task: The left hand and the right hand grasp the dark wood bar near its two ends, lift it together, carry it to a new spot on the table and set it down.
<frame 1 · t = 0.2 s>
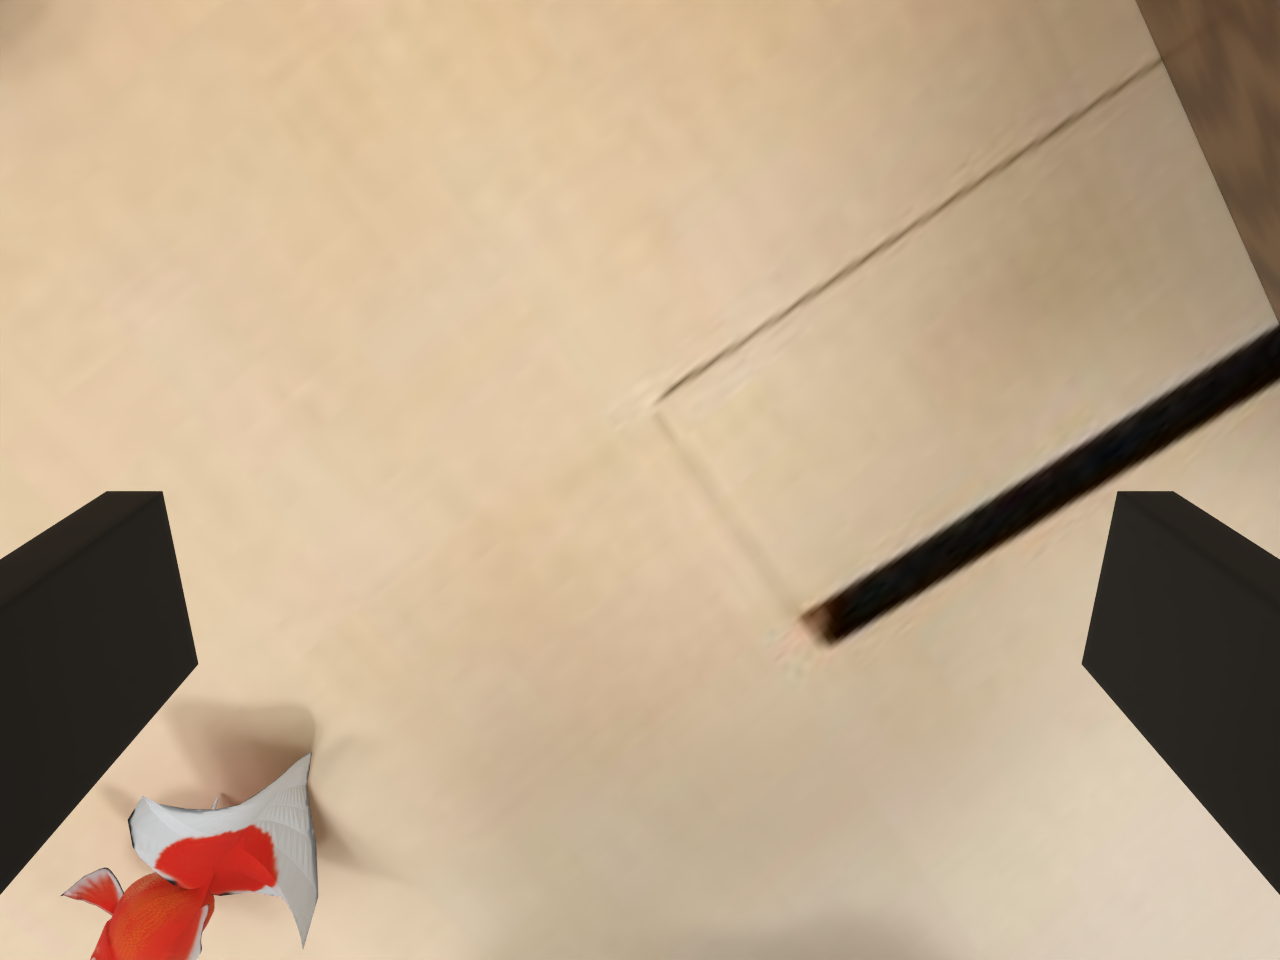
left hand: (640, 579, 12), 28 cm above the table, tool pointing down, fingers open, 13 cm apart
fish: (234, 814, 48), on the table
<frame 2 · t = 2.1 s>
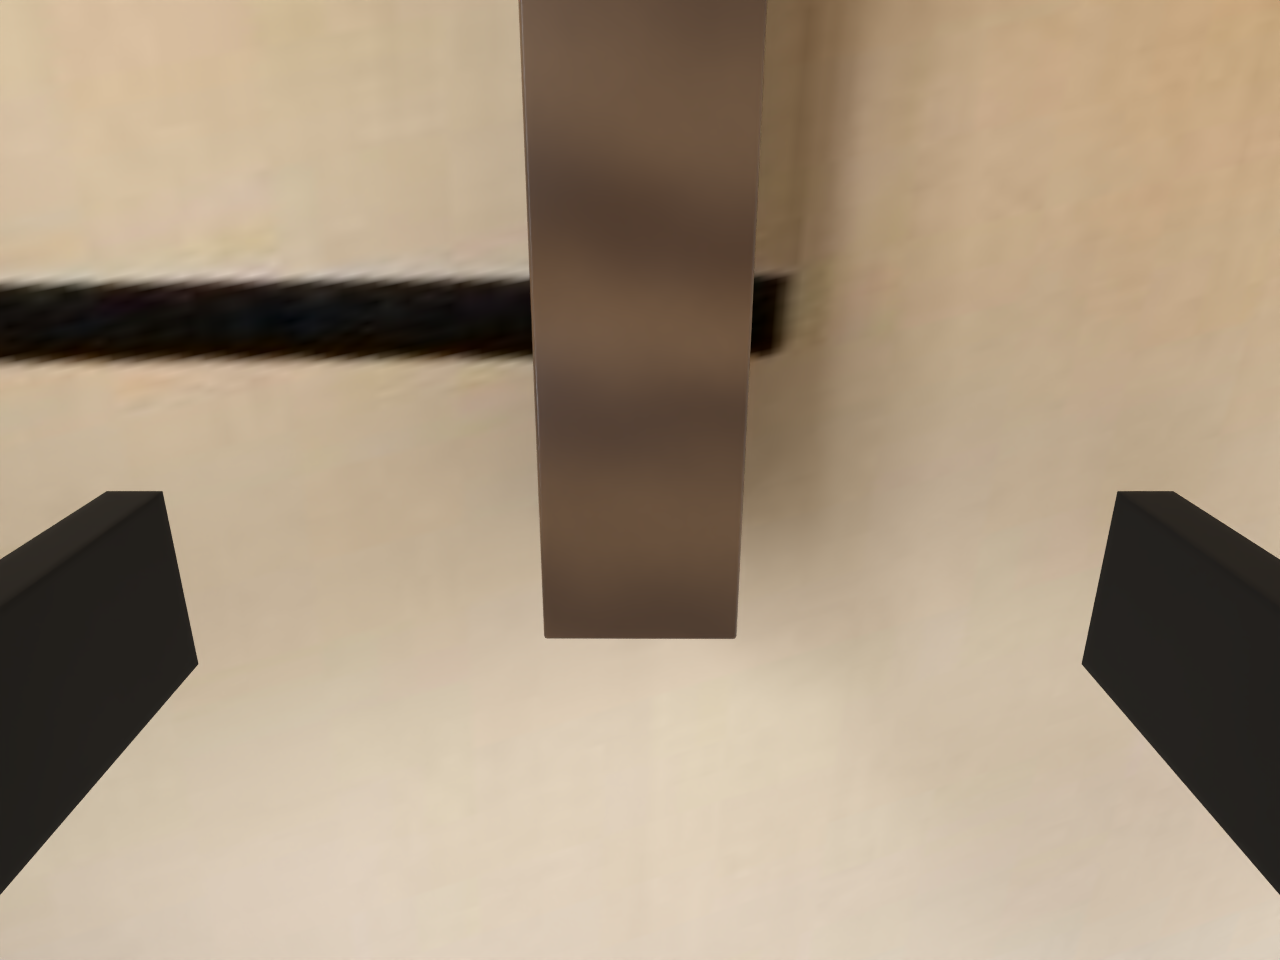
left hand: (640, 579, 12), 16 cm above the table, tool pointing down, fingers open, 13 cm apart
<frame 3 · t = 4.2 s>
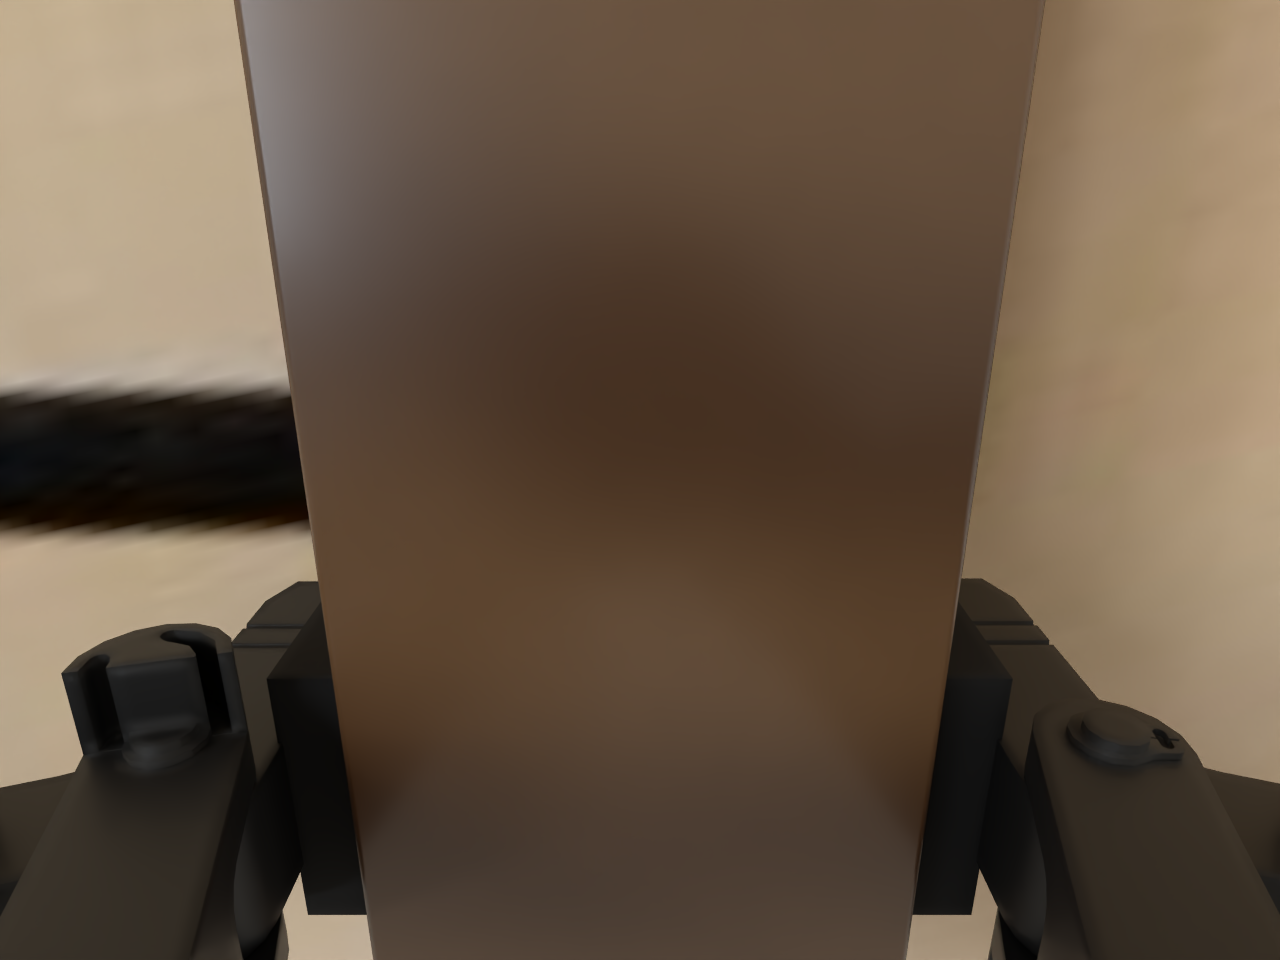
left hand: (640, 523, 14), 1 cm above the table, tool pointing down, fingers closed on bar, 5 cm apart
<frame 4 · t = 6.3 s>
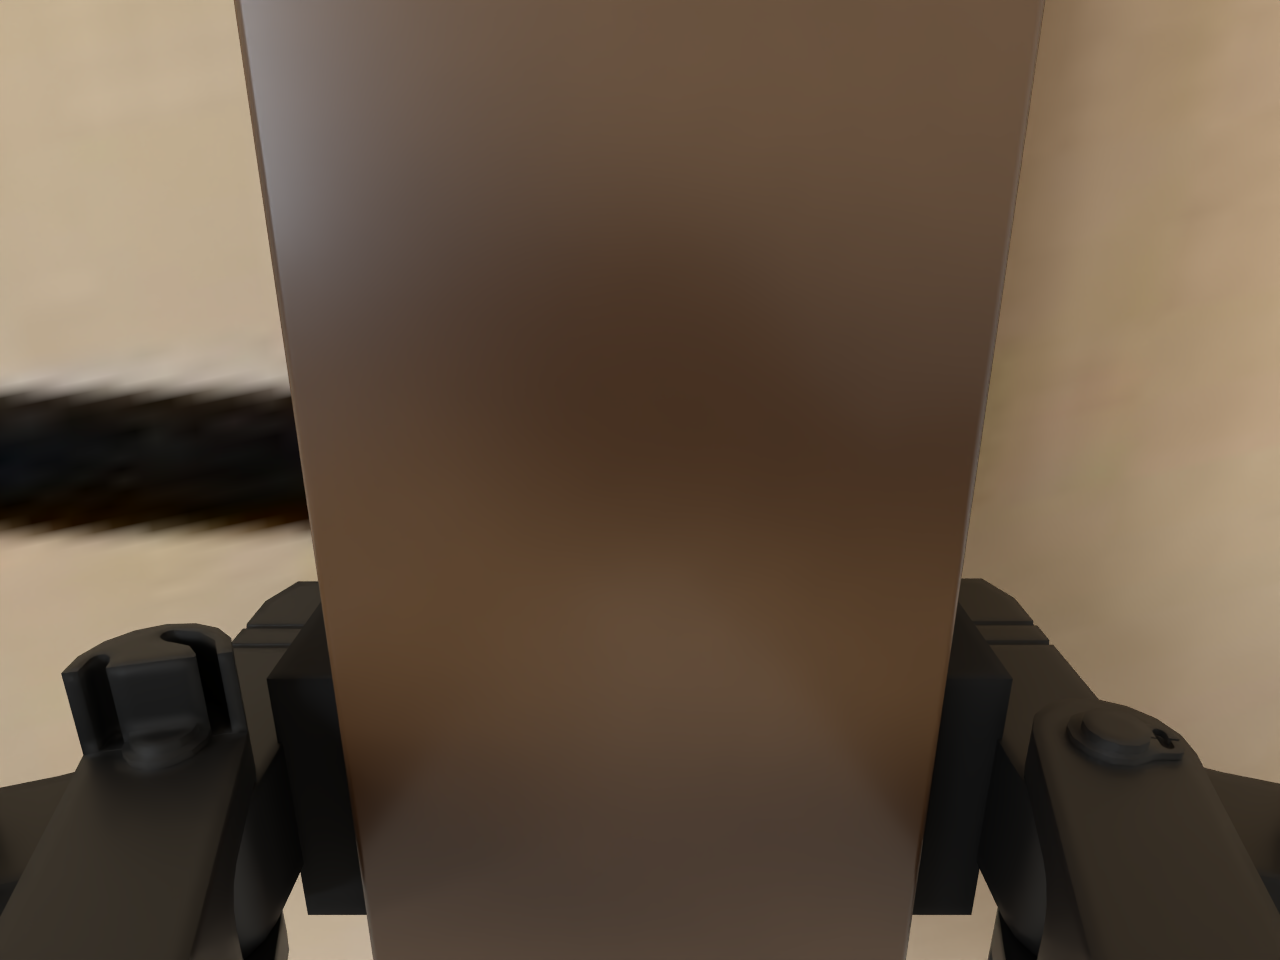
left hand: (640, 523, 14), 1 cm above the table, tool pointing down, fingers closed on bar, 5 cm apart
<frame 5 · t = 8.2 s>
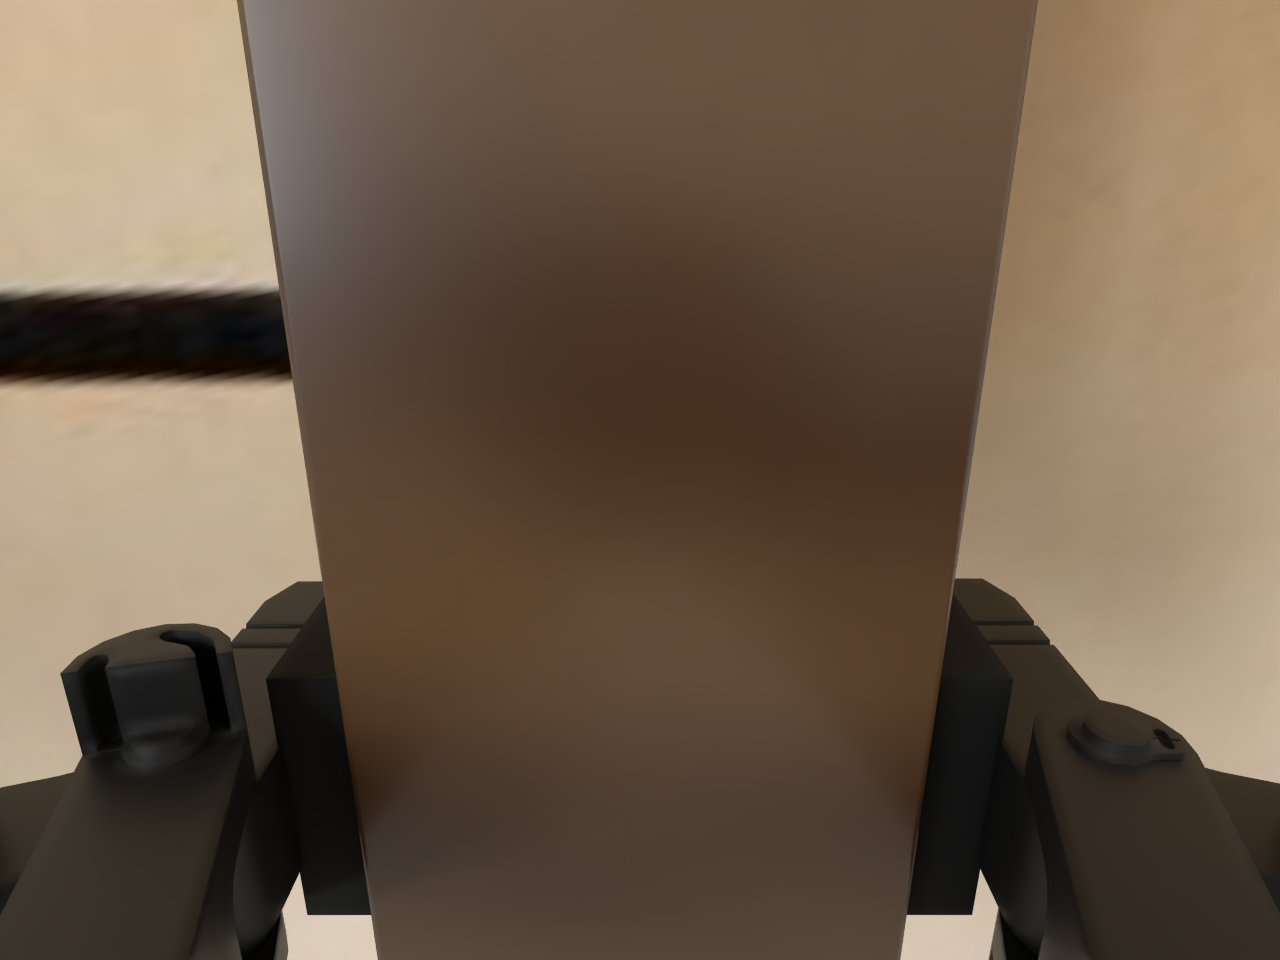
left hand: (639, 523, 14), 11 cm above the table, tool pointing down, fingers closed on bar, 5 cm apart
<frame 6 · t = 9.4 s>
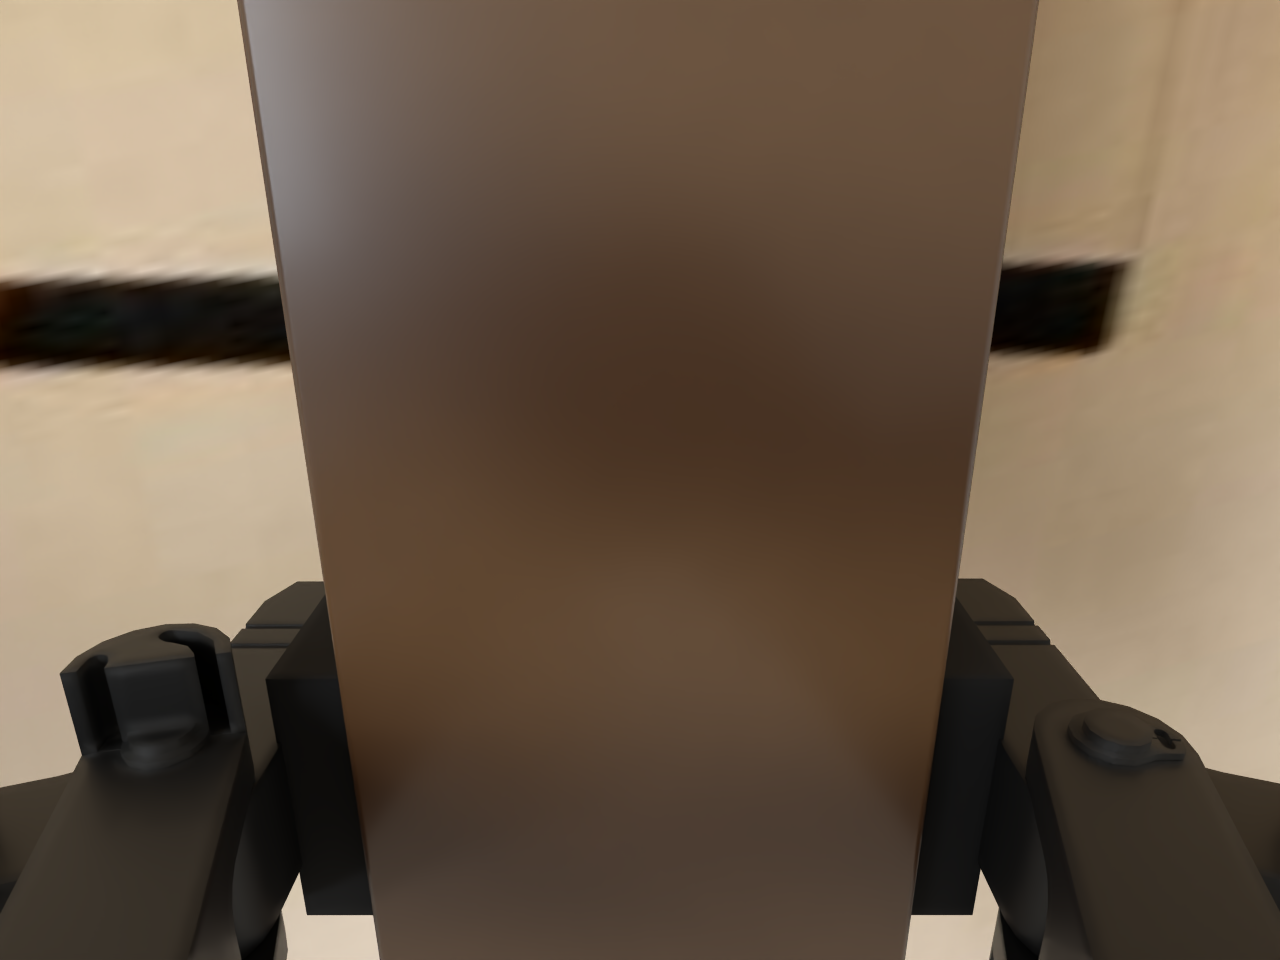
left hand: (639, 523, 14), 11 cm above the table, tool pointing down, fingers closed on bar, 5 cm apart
when the left hand's fingers open (3 cm above the table, at t = 12.3 s): bar drops 2 cm, on the table.
when the right hand's fingers open (4 cm above the table, at t = 12.5 s): bar stays where it is, on the table.
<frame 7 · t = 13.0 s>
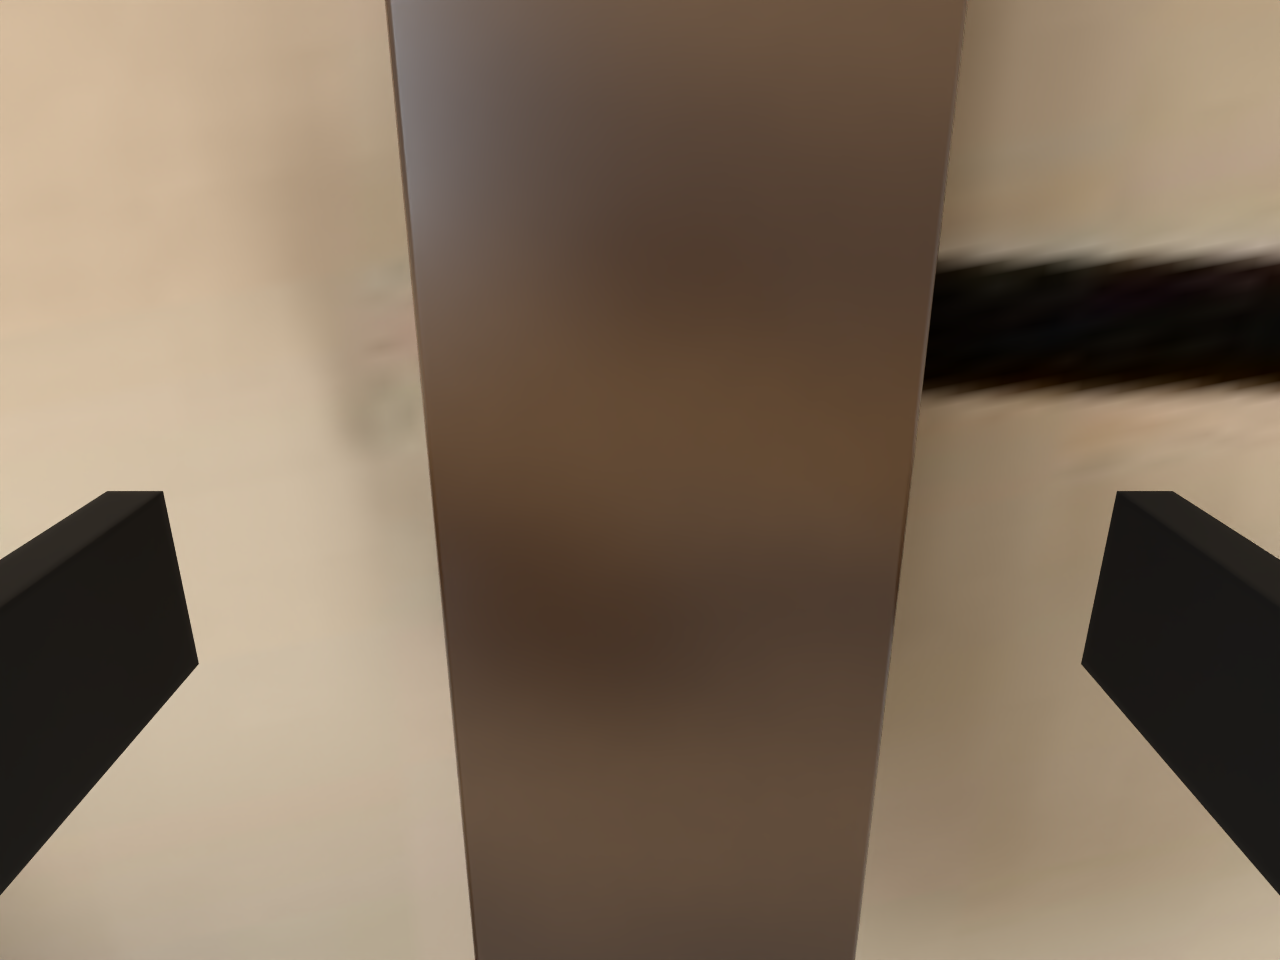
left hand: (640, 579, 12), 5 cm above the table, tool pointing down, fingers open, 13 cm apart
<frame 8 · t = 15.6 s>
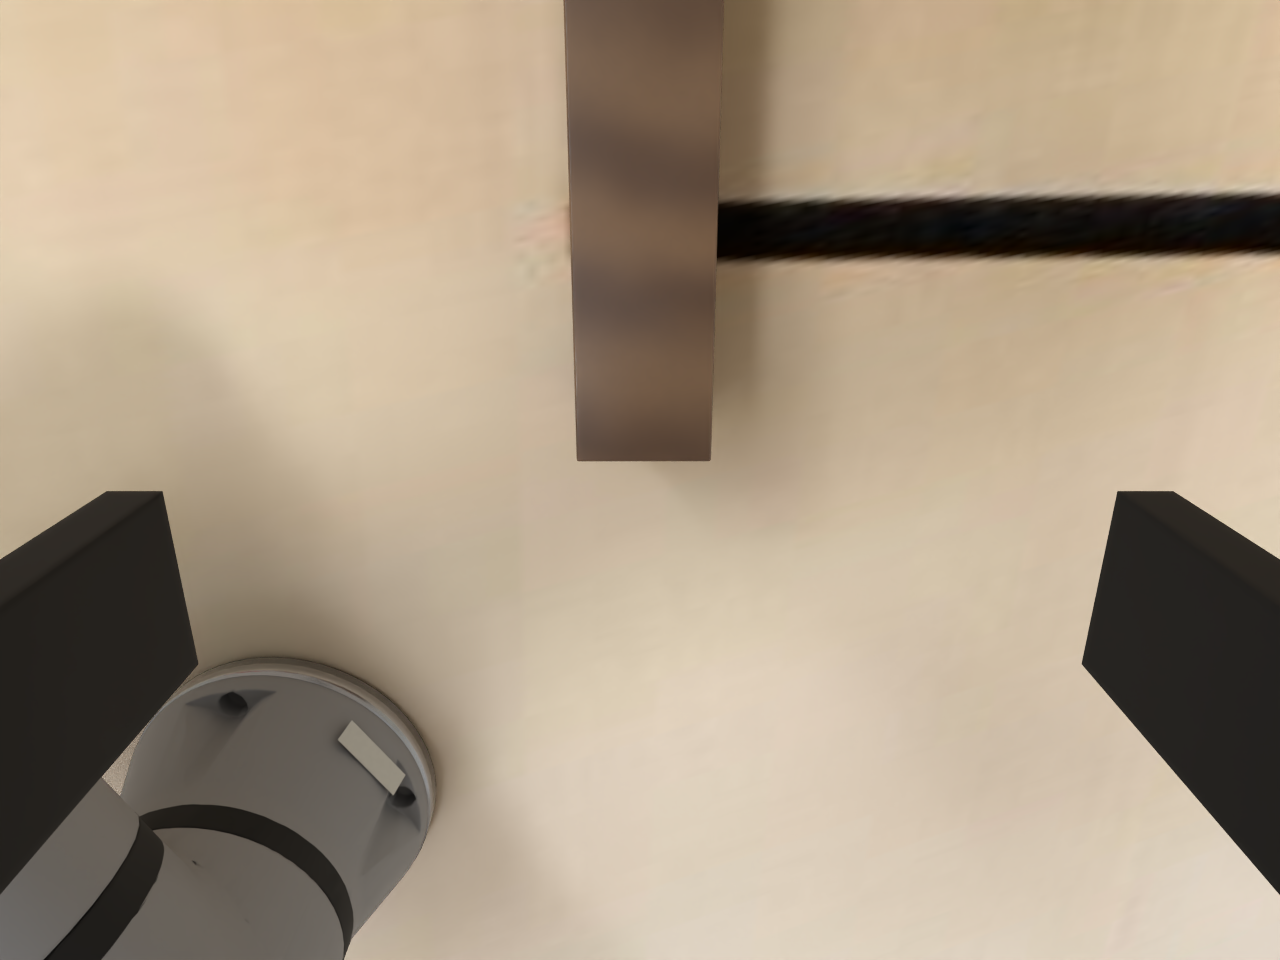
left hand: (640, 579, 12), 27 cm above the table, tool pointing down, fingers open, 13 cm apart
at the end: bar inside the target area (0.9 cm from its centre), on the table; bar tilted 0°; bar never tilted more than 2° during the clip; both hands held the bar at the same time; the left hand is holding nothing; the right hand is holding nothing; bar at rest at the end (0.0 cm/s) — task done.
